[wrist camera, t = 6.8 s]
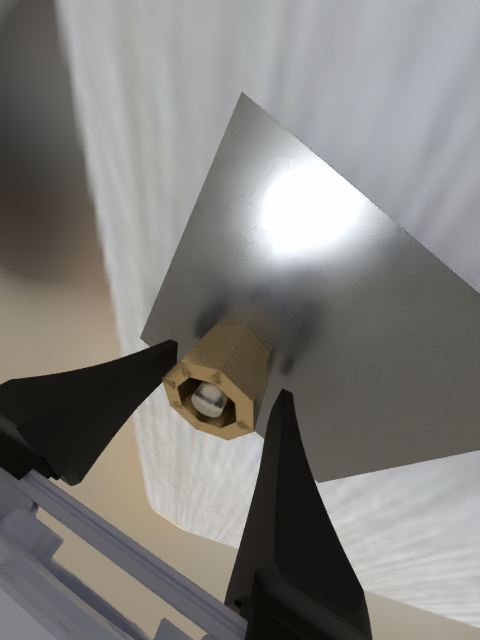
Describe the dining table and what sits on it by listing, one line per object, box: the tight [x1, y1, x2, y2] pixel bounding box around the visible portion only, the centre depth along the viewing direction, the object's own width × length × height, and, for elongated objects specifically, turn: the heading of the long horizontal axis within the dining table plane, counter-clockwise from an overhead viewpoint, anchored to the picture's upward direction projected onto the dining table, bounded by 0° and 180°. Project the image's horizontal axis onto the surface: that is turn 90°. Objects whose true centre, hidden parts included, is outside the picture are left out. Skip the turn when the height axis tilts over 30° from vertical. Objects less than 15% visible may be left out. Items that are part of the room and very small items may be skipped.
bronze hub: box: [162, 324, 270, 440], centre depth 11 cm, size 5×5×4 cm
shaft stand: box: [140, 92, 480, 483], centre depth 11 cm, size 20×16×6 cm
